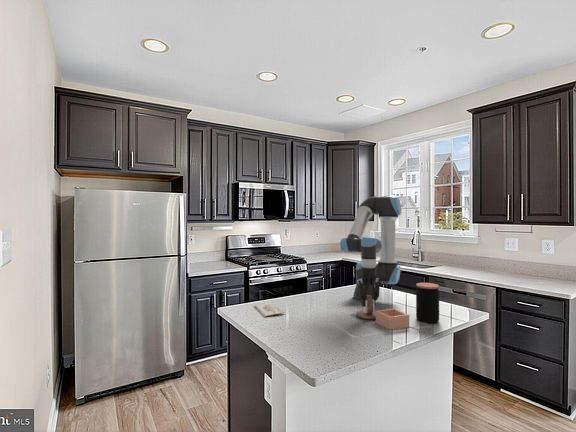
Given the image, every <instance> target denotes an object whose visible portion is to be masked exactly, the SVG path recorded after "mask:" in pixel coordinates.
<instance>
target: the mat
mask: <svg viewBox="0 0 576 432" xmlns="http://www.w3.org/2000/svg"><path fill="white" fill-rule="evenodd" d="M349 315H350V316H351V317H354V318H356V320H358V321H360V322H362V323H365V324H366V323H372V322H373V323H374V322H376V319H363V318H360V317H358V316H357V313H352V314H351V313H350V314H349Z"/></svg>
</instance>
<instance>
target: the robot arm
mask: <svg viewBox="0 0 576 432" xmlns="http://www.w3.org/2000/svg"><path fill="white" fill-rule="evenodd" d="M356 213H357V214H356V216H355V219H354V221H353V224H352V226H351V228H350V230H349V233H348V235H347V237H343V238H341V239H340V243H339V245H340V246H339V247H340V250H341V251H342V252H347V253H360V256H361V257H360V259H361V260H360V261H359V262H357V263H356V269H355V288H354V292H353V296H352V297H353V298H354V299H356V300H358V301H361V306H362V310H363V312H364V313H367V300H366V296H367V295H370V296H372V312H373V313H374V311H375V306H376V305H377V304H376V301H377V300H378V299H379V298H380V289H381V288H380V287H381V285H380V284H388V285H396V284H397V283H398V282H399V280H400V275H401V266H400V265H399V264H398V261H397V260H396V221H397V219H399V216H400V215H401V214H402V204H401V201H400V199H399V197H398V196H397V195H380V196H379V195H377V196H375V195H374V196H370V197H367V198H366V199H365V200H363V201H362V203H360V204H359V205H358V208H357V210H356ZM373 215H377V216H378V218H379V219H380V239H378V238H376V237H375V236H363V235H364V233H365V230H366V227H367V224H368V222H369V219H371V218H372V217H373ZM377 253H380V259H379V260H377Z"/></svg>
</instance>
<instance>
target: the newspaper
mask: <svg viewBox="0 0 576 432" xmlns="http://www.w3.org/2000/svg"><path fill="white" fill-rule="evenodd" d="M253 307H254V308H255V309H256V310H257V312H258V313H259V314H261V316H262V317H263V318H265V317H268V316H273V315H277V316H279V317H280V316H283V315H286V314H287V313H286V312H284V311H283V310H281V309H280V308H278V307H276V306H275V305H274V304H272V303H271V302H264V303H259V304H254V305H253Z"/></svg>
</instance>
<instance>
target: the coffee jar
mask: <svg viewBox="0 0 576 432" xmlns="http://www.w3.org/2000/svg"><path fill="white" fill-rule="evenodd" d="M439 288H440V285H439V284H436V283H433V282H432V283H431V282H417V283H416V289H415V318H416V320H417V321H419V322H421V323H426V324H428V325H431V324H433V325H435V324H437V323H438V322H439V321H440V290H439Z"/></svg>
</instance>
